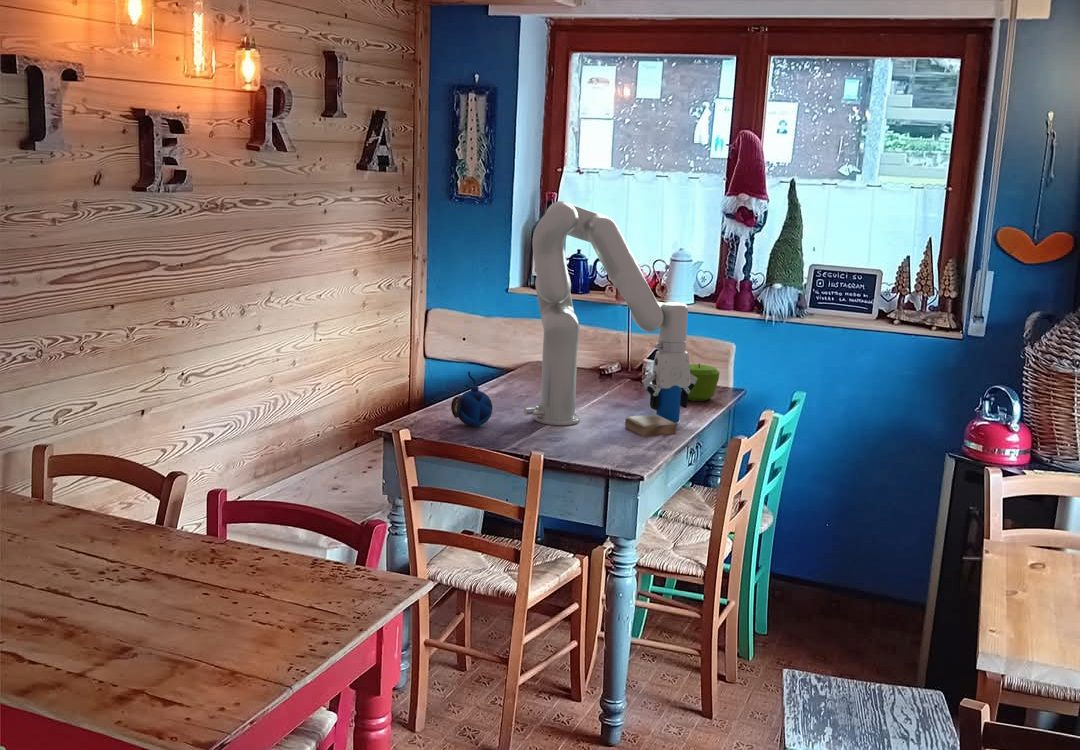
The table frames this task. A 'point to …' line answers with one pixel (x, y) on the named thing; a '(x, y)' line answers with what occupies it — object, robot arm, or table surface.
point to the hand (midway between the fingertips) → (668, 407)
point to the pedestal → (650, 425)
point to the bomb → (472, 406)
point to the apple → (703, 382)
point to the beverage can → (669, 403)
